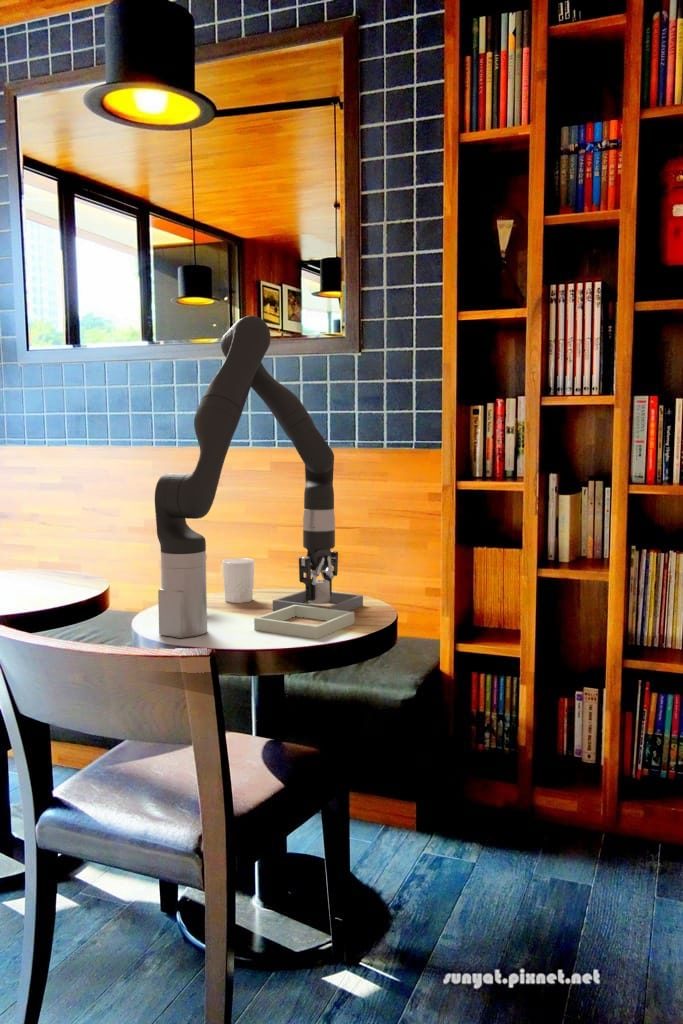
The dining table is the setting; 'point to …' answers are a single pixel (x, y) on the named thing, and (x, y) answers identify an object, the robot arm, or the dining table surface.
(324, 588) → the die
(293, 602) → the gray frame
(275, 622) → the sage frame
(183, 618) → the robot arm
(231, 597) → the white cup
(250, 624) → the dining table surface
